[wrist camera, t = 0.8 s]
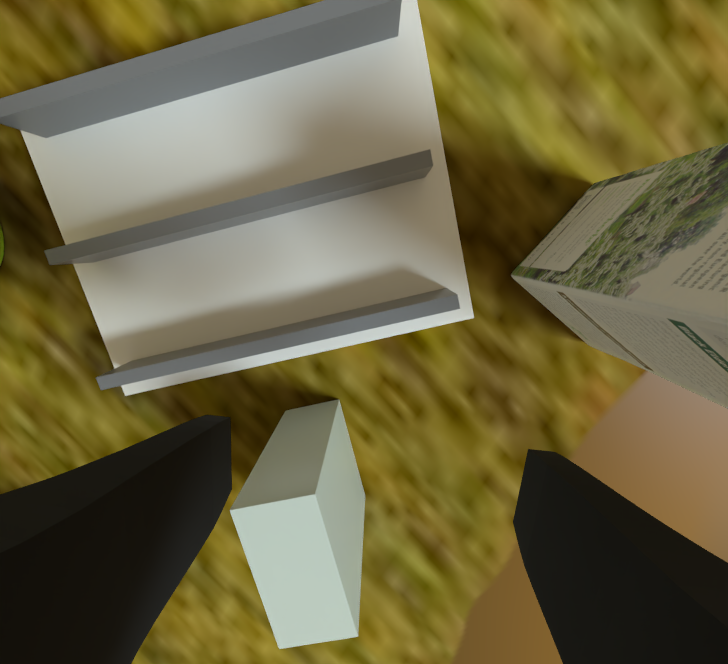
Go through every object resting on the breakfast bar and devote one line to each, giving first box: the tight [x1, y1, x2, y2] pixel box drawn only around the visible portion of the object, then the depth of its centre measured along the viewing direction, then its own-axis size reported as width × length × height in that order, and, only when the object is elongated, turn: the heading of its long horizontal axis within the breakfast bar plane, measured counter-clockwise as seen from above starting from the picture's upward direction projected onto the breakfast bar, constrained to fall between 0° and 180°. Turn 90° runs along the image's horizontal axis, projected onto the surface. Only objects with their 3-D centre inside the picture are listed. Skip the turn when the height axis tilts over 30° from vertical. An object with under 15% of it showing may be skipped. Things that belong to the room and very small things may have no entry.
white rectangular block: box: [230, 399, 365, 649], centre depth 17 cm, size 6×3×8 cm, turn 14°
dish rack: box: [0, 0, 474, 396], centre depth 17 cm, size 18×14×4 cm
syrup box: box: [511, 143, 728, 409], centre depth 11 cm, size 6×6×14 cm
